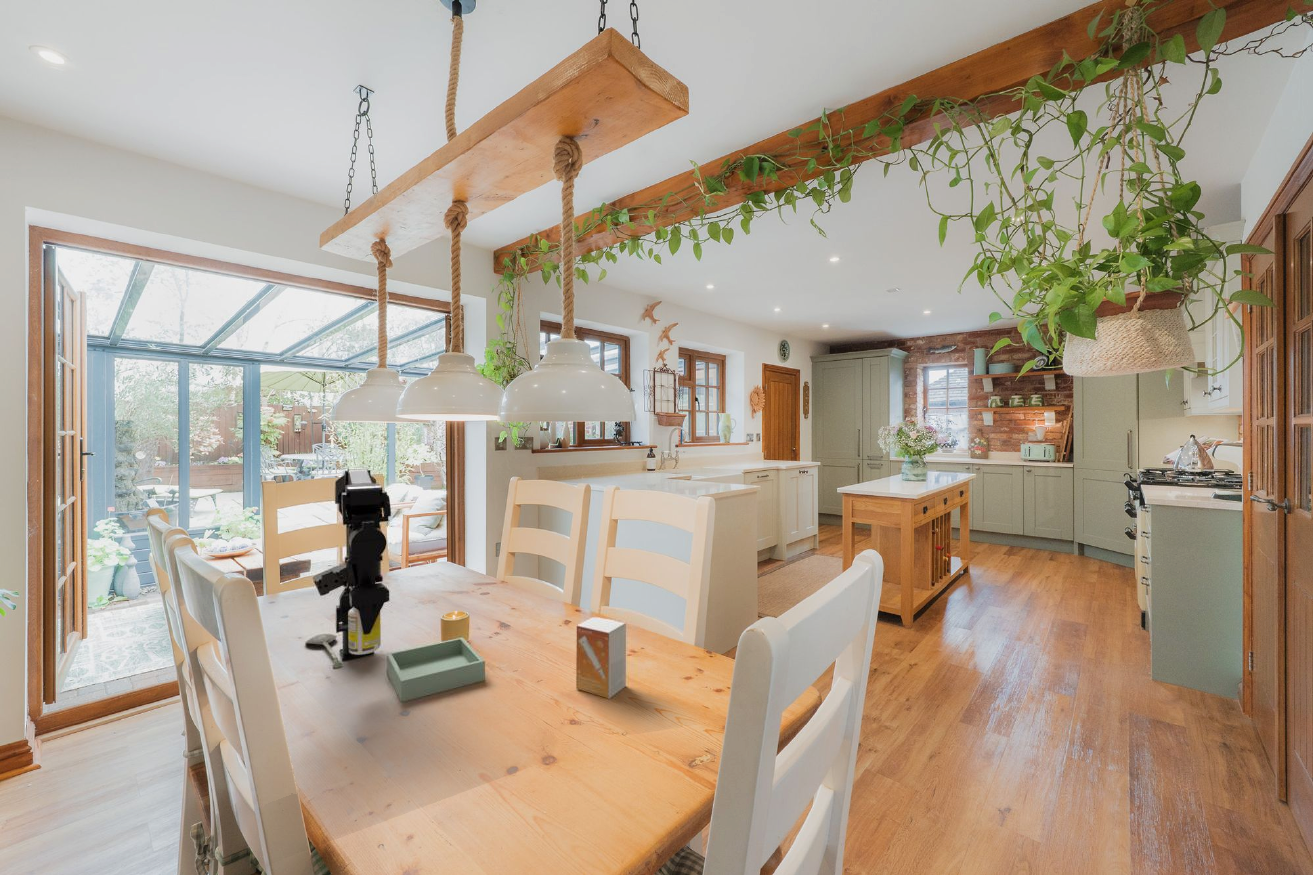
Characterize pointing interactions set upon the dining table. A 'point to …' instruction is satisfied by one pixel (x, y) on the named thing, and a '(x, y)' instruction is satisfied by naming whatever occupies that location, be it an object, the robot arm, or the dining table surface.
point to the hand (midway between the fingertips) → (364, 629)
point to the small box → (601, 656)
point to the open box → (434, 668)
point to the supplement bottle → (357, 638)
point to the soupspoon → (326, 645)
